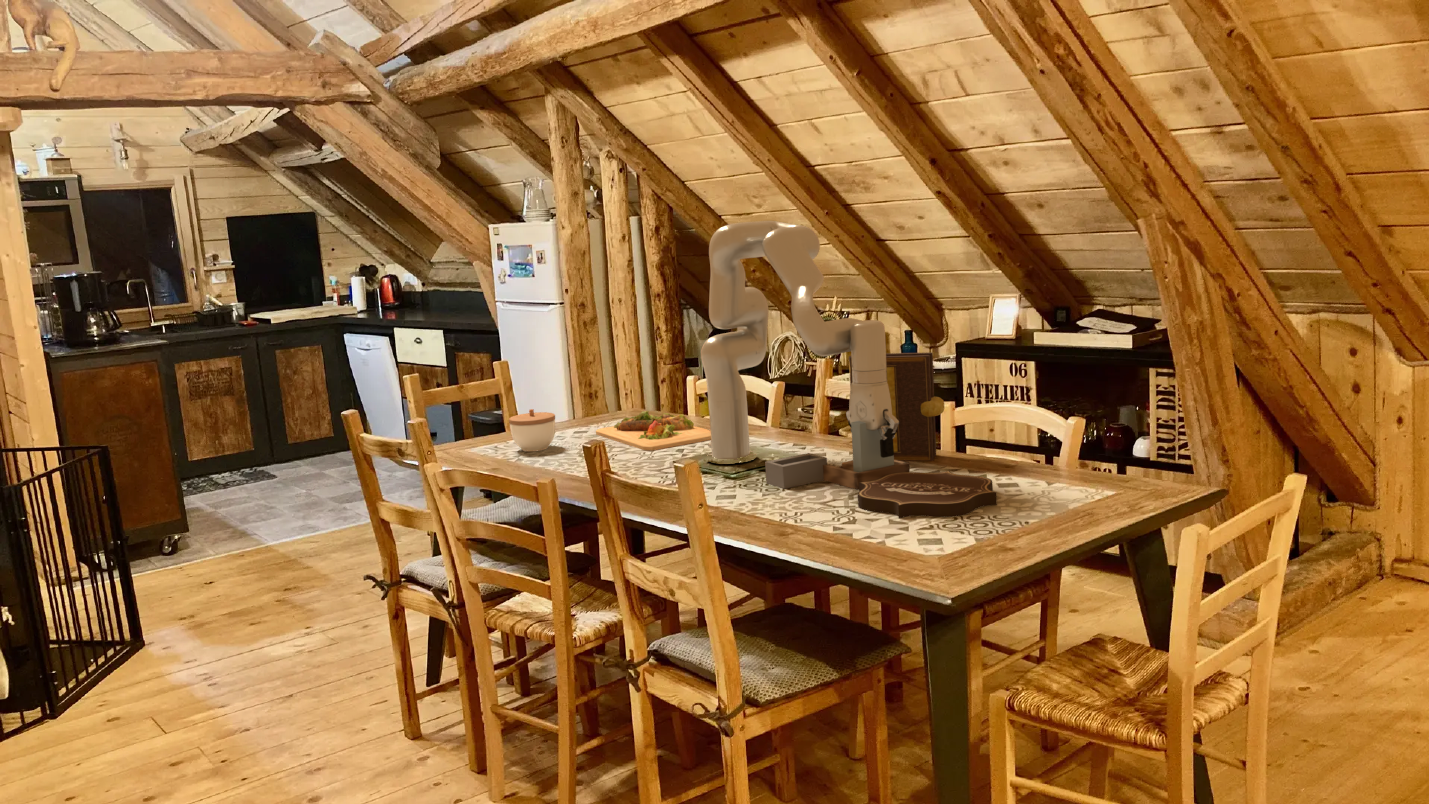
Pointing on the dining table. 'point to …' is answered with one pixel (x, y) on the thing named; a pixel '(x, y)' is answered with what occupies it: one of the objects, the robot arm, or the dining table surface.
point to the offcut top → (848, 465)
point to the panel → (867, 449)
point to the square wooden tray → (860, 474)
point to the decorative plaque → (926, 494)
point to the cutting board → (655, 431)
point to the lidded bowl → (533, 430)
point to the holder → (795, 470)
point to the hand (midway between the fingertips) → (873, 453)
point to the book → (912, 404)
